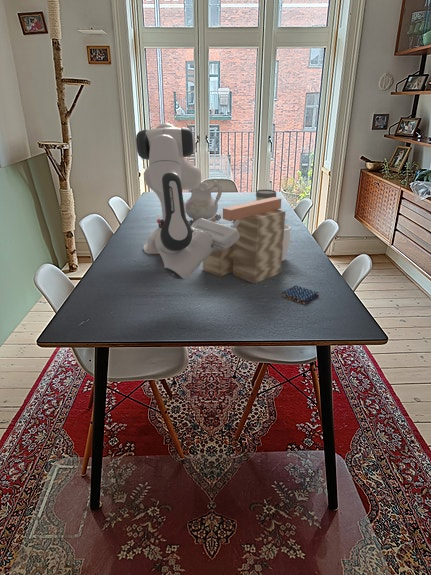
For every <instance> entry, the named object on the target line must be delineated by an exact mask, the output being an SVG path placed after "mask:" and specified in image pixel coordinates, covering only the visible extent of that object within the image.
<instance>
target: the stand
mask: <svg viewBox="0 0 431 575" xmlns="http://www.w3.org/2000/svg"><path fill="white" fill-rule="evenodd" d="M286 213H287V212H286V210H285V211H284V210H281V209H277V210H273V211H269V212H265V213H261V214H257V215H253V216H249V217H245V218H241V219H237V220H239V225H238V226H237V228H236V229H237V230H238V232H239V235H240V238H239V239H238V240H237V241H236V242H235V243H234V255H233V272H232V275H233V276H235V277H237V278H240V279H243V280H245V281H246V282H247V281H248V282H249V283H252V284H257V283H259V282H261V281H264V280H267V279H269V278H272V277H274V276H277V275H280V274H281V272H282V262H283V261H282V250H283V237H284V225H286V224H285V223H286V222H285V221H286Z"/></svg>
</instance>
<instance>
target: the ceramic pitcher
mask: <svg viewBox="0 0 431 575" xmlns="http://www.w3.org/2000/svg"><path fill="white" fill-rule="evenodd" d="M212 181H213V182H212V184H210V185H209V183H207V182H202V181H201V182H200V185H199V186H198V187H197V188H194V189H190V191H191V195H190V197H189V198H188V199H187V200H186V201H185V204H186V216H188V217H189V218H190V219H192V220H191V222H192V224H193V223H194V222H195V221H196V220H198V219H200V218H203V219H206V220H208V219H209V218H211V217H213V216H215V215H216V214H218V210H219V209H218V208H219V204H218V203H219V201H220V198H221V197H222V194H223V193H222V191H223V188H222V185H221V183H220V181H219V180H218V179H214V180H212ZM214 188H217V191H218V192H217V195H216V197H215V198H213V196H212V190H213V189H214Z"/></svg>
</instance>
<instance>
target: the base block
mask: <svg viewBox="0 0 431 575" xmlns="http://www.w3.org/2000/svg"><path fill="white" fill-rule="evenodd" d="M233 255H234V244H233V245H232V246H230V247H229V248H227V249H224V250H218V249H215V250H214V251H213V252H212V253H211V254H210V255H209V256H208V257H207V258H206V259H205V260H203V261H202V270H203V271H205V272H207V273H209V274H212V275H214V276H216V277H223V276H225V275H228V274H231V273H233Z"/></svg>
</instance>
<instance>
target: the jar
mask: <svg viewBox="0 0 431 575" xmlns="http://www.w3.org/2000/svg"><path fill="white" fill-rule="evenodd" d="M291 229H292V228H291V226H290V225H288V224H285V225H284V237H283V250H282V262H283V261H286V260H287V258H286V257H287V256H286V255H287V254H288V251H289V247H290V244H291V242H290V241H291V233H290V231H291Z"/></svg>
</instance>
